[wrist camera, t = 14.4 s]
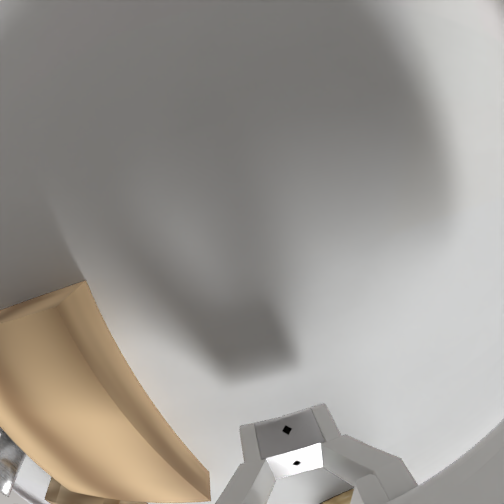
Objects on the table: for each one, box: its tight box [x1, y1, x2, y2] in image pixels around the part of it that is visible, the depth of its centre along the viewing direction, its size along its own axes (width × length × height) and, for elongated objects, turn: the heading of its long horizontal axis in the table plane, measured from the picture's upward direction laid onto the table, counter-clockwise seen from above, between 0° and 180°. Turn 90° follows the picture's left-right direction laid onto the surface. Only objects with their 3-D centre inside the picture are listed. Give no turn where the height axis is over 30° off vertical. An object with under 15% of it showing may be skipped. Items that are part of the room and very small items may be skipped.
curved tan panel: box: [0, 281, 211, 503], centre depth 8 cm, size 10×12×2 cm
